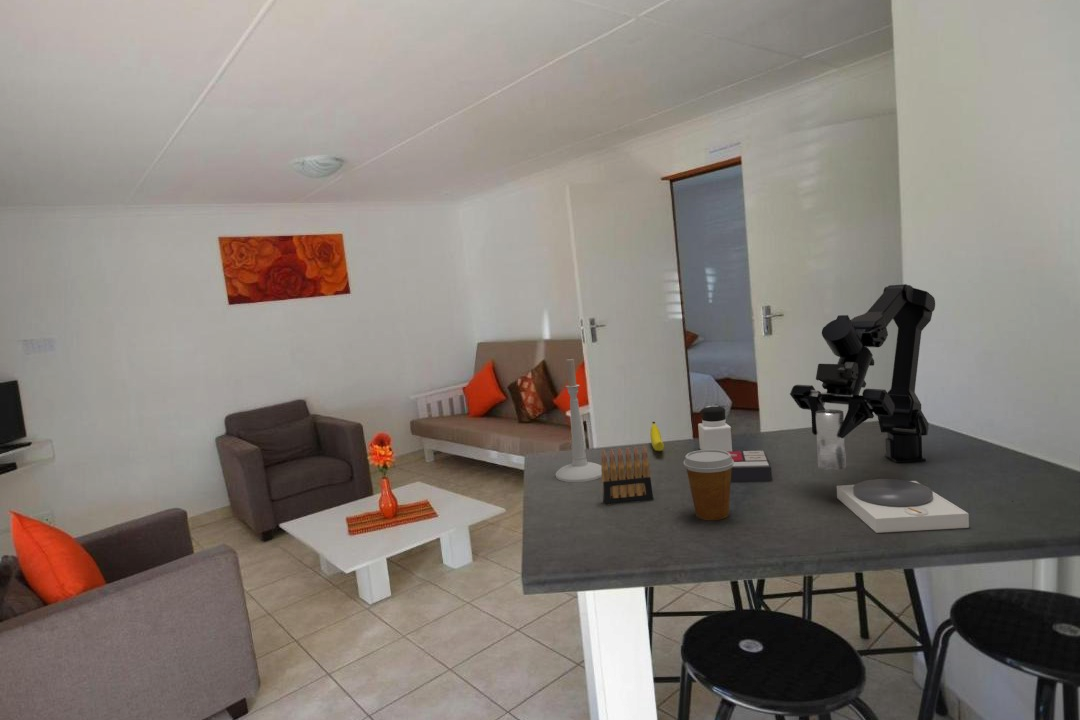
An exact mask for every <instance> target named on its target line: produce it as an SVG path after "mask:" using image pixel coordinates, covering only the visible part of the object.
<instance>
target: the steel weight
mask: <svg viewBox="0 0 1080 720" xmlns="http://www.w3.org/2000/svg"><path fill="white" fill-rule="evenodd" d="M815 414H816V432H817V434H816V446H817V447H816V449H817V464H818V465H817V467H818V468H819V469H822V470H826V471H827V470H828V471H840V470H844V469H846V467H847V461H846V460H847V458H846V438H845V437H846V436H845V437H844V438H840V436H839V433H840V429H841V426H842V424H843V421H844V419H845V417H844V416H845V415H844V411H843V410H841V409H835V408H834V409H832V408H831V409H826V408H825V410H818V411H816V412H815Z"/></svg>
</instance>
